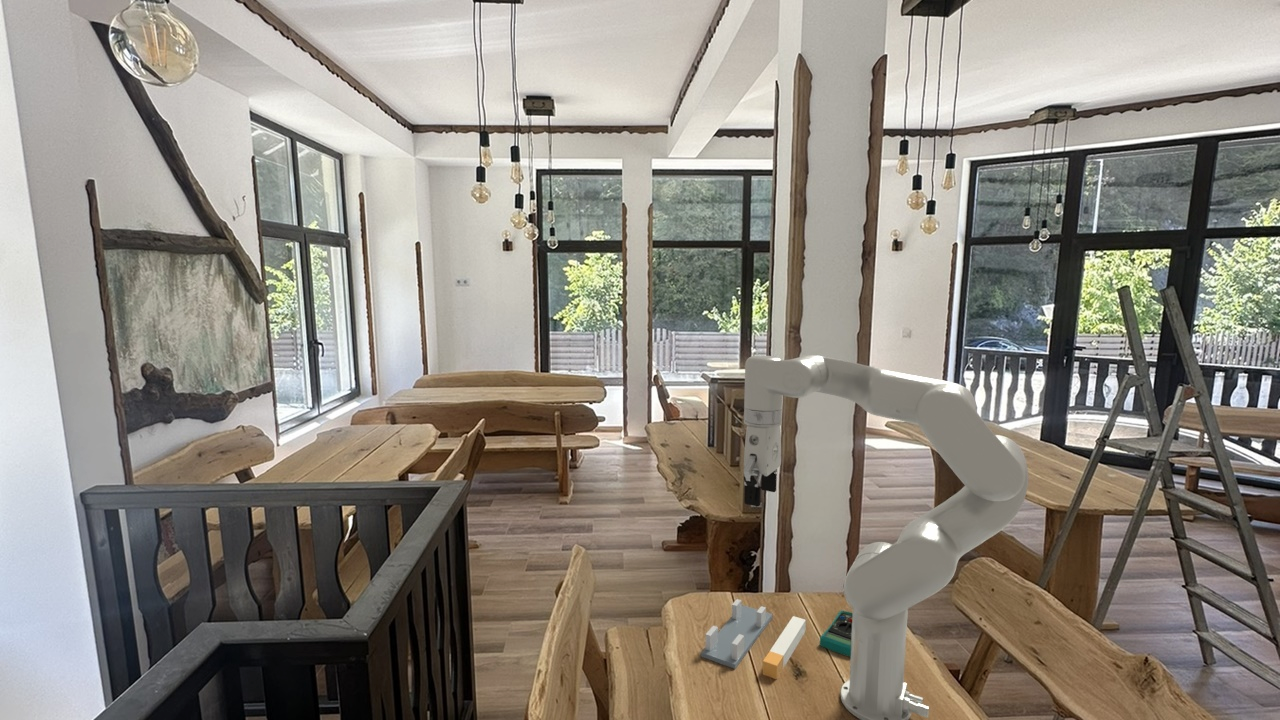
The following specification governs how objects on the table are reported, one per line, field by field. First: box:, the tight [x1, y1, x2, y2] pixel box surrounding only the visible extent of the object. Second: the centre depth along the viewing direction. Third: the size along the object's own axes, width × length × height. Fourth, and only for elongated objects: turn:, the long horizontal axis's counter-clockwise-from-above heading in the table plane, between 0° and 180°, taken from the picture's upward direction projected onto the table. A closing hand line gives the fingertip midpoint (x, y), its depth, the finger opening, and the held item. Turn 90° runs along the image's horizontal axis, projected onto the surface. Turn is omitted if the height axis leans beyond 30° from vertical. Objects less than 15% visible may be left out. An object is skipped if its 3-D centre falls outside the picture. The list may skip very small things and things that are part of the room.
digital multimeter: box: [819, 610, 853, 658], centre depth 134 cm, size 7×15×3 cm, turn 143°
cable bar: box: [762, 615, 807, 680], centre depth 129 cm, size 3×20×3 cm, turn 148°
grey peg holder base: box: [700, 598, 774, 670], centre depth 134 cm, size 8×23×4 cm, turn 148°
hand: (760, 497), depth 121 cm, fingers open, 9 cm apart
